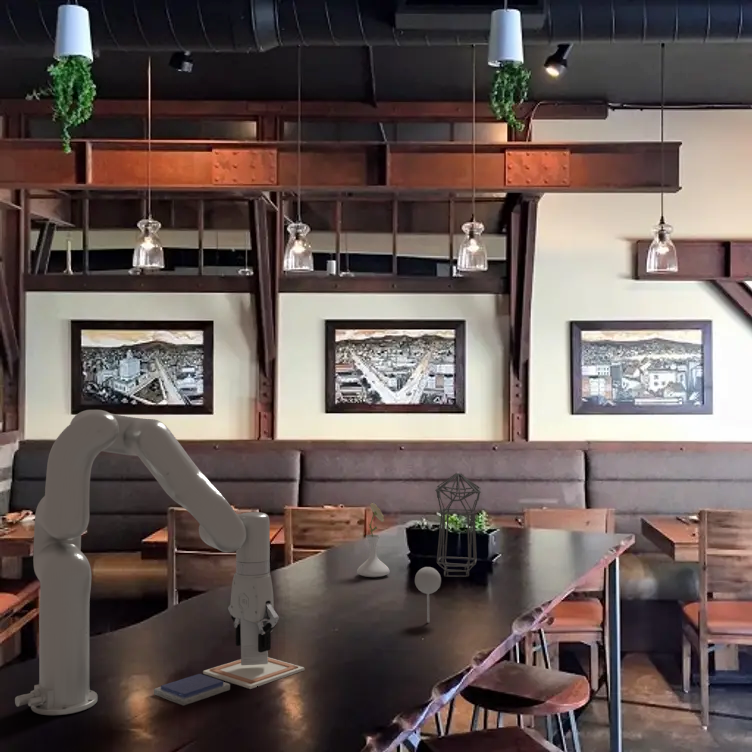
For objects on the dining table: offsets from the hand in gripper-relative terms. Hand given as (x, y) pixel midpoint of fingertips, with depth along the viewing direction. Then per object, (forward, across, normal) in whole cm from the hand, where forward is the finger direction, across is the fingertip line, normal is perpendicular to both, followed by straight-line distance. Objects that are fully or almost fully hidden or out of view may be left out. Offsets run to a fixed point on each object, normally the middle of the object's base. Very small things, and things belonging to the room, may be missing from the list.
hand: (253, 647), depth 192 cm
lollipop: (+5, +5, +58) cm, 59 cm away
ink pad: (+6, 0, -17) cm, 18 cm away
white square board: (+6, 0, 0) cm, 6 cm away
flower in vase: (+5, -47, +95) cm, 106 cm away
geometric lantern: (+5, -25, +115) cm, 118 cm away
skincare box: (+4, 0, 0) cm, 4 cm away
